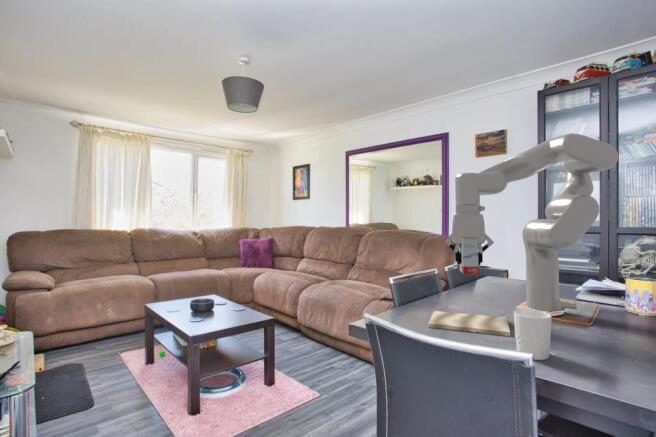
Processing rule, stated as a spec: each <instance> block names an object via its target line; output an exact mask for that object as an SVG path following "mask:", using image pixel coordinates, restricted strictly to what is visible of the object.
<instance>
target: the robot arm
mask: <svg viewBox="0 0 656 437" xmlns="http://www.w3.org/2000/svg"><path fill="white" fill-rule="evenodd" d="M618 160H619V152H618V151H617V149H616V148H615V147H614V146H613V145H612V144H609V143H607V142H604V141H602V140H599V139H595V138H592V137H589V136H586V135H583V134H580V133H573V132H572V133H571V132H570V133H566V134H562V135H560V136H559V135H558V136H556V137H552V138H548V139H547V140H544V141H542V142H541V143H539V144H536V145H534V146H533V147H531V148H529V149H527V150H524V151H523V152H521V153H518V154H517V155H514V156H512V157H510V158H508V159H506V160H504V161H501V162H499V163H497V164H495V165H493V166H491V167H488V168H486V169H484V170H482V171H480V172H478V173H477V172H463V173H458V174H457V175H456V176H455V177H454V178H455V179H454V182H455V184H454V190H455V193H454V194H455V214H453V218H452V223H451V224H452V227H451V234H450V235H449V236H448V237H447V238H446V239H445V240H444V244H445V245H446V246H448V248H450V249H451V250H452V251H453V252H454V259H455V263H456V264H457V265H459V266H460V250H459V248H460V245H461V238H469V239H478V265H479V266H481V264H482V263H483V258H484V256H483V253H484V252H485V251H486V250H488V248H490V247H491V246H493V244H494V243H495V242H494V240H493V239H492V238H491V237H489V235H488V234H487V233H486V229H485V228H486V227H485V218H484V214H483V213H481V212H483V211H485V210H486V206H485V205H481V196H489V195H490V196H491V195H497V194H500V193H502V192H503V191H504V190H506V188H507V186H508V183H512V182H515V181H516V182H517V181H521V180H524V179H527V178H531V177H533V176H535V175H537V174H539V173H540V172H543V171H544V170H546V169H548V168H550V167H553V166H554V165H556V164H558V163H559V164H560V163H563V168H564V173H565V177H566V178H565V183H564V184H563V185H562V187H561V188H560V189H559V190H558V192H557V193H556V195H554V196H553V197H552V199H551V200H550V201H549V203H548V204H547V205H546V207H545V210H544V215H545V216H546V218H539V219H538V218H537V219H532V220H530V221H528V222H527V223H526V224H525V225H524V226H523V229H522V242H523V245H524V251H525V281H526V282H525V283H526V284H525V286H526V287H525V292H526V295H525V296H526V300H525V301H526V303H524V304H522V305H527V307H528V308H531V309H535V310H539V311H548V312H553V311H562V310H563V311H565V309H569V310H577V308H578V307H577V303H575V302H569V301H562V300H561V299H560V271H559V267H560V265H559V264H560V262H559V255H558V253H557V251H556V250H562V251H563V250H569V249H570V248H573V247H574V246H575V245H577V243H579V241H580V240H581V239H582V237H583V236H584V235H585V234H586V233H587V232H588V230H589V229H590V228H591V227H592V225H593V224H595V222H596V220H597V218H598V216H599V213H600V204H599V203H598V201H597V199H596V198H595V197H593V196H592V194H593V192H594V183H593V180H592V178H591V173H596V172H604V171H608V170H610V169H612V168H614V166H616V164H617V163H618ZM485 242H487V243H485ZM484 243H485V245H483V244H484ZM454 244H456V245H454ZM482 245H483V246H482ZM479 266H478V267H479Z"/></svg>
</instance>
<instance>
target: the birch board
mask: <svg viewBox="0 0 656 437" xmlns="http://www.w3.org/2000/svg"><path fill="white" fill-rule="evenodd" d="M428 328H430V329H431V328H432V329H442V330H450V331H460V332H467V331H470V332H469V333H476V332H479V334H486V335H495V336H505V337H511V330H510V326H509V323H508V318H507V317H505V316H493V315H483V314H471V313H462V312H449V311H441V310H439V311H438V310H433V312H432V314H431V317H430V319H429V321H428Z"/></svg>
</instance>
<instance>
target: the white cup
mask: <svg viewBox="0 0 656 437" xmlns="http://www.w3.org/2000/svg"><path fill="white" fill-rule="evenodd" d="M552 317H553V316H551V315H550V314H549V313H546V312H543V311H539V310H532V309H521V308H520V309H519V308H518V309H515V310H514V311H513V321H514V336H515V344H516V352H517V351H520V352H527V353H532V354H533V356H534V359H533V360H535V361H536V360H538V361H543V360H548V359H549V358H550V347H551V335H552Z"/></svg>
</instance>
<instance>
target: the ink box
mask: <svg viewBox="0 0 656 437" xmlns="http://www.w3.org/2000/svg"><path fill="white" fill-rule="evenodd" d="M478 251H479V250H478V239H469V238H461V245H460V248H459V252H460V264H459V272H461V273H462V274H463V276H465V275H466V276H479V275H480V273H479V271H480V270H479V265H478Z"/></svg>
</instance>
